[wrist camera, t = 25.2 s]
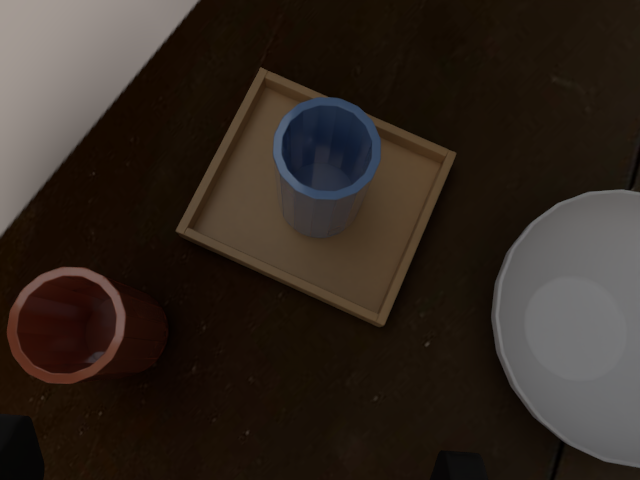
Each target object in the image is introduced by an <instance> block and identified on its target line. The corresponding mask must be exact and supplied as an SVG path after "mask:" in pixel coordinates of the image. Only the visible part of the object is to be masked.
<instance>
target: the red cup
mask: <svg viewBox="0 0 640 480" xmlns="http://www.w3.org/2000/svg"><path fill="white" fill-rule="evenodd" d="M168 334H169V327H168V320H167V317H166V314H165V312H164V310H163V308H162V307H161V305H160V304H159V303H158V302H157V301H156V300H155V299H154V298H153V297H152V296H150V295H148V294H146V293H144V292H142V291H139V290H137V289H135V288H133V287H130V286H128V285H126V284H123V283H121V282H119V281H116V280H114V279H111V278H109V277H107V276H104V275H102V274H100V273H97V272H95V271H93V270H90V269H88V268H84V267H60V268H57V269H54V270H52V271H49V272H46V273H43V274H41V275H39V276H38V277H37V278H35V279H34V280H33V281H32V282H31V283H29V284H28V285H27V286H26V287H25V288H23V289H22V291H21V292H20V294H19V296H18V297H17V299H16V301H15V303H14V304H13V306H12V308H11V311H10V314H9V321H8V328H7V337H8V340H9V344H10V348H11V351H12V355H14V356H13V357H14V358H15V359H16V360H17V362H18V363H19V364H20V365H21V366H22V368H23V369H24V370H25V371H26V372H27V373H28V374H30V375H32V376H34V377H36V378H38V379H40V380H42V381H45V382H47V383H58V384H74V383H82V382H90V381H98V380H106V379H115V378H123V377H129V376H131V375H135V374H138V373H140V372H143V371H144V370H146V369H148V368H149V367H150V366H152V365H153V364H154V363H155V362H156V361H157V360H158V358H159V357H160V356H161V354H162V353H163V351H164V349H165V346H166V344H167V340H168Z"/></svg>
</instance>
